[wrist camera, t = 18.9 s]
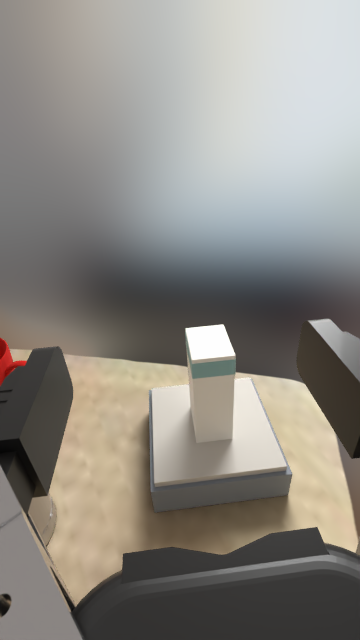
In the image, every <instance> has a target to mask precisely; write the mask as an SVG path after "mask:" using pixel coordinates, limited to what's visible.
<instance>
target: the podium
mask: <svg viewBox="0 0 360 640" xmlns="http://www.w3.org/2000/svg"><path fill="white" fill-rule="evenodd" d="M149 423H150V483H151V497H152V502H153V507H154V512H155V513H156V512H163V511H171V510H178V509H186V508H194V507H201V506H209V505H216V504H224V503H232V502H239V501H247V500H255V499H262V498H270V497H277V496H285V495H288V493H289V488H290V483H291V478H292V472H291V470H290V467H289V465H288V463H287V460H286V458H285V456H284V453H283V451H282V448H281V446H280V444H279V441H278V439H277V437H276V434H275V432H274V430H273V427H272V425H271V423H270V420H269V418H268V415H267V413H266V411H265V408H264V406H263V404H262V401H261V399H260V397H259V394H258V392H257V390H256V387H255V385H254V382H253V380H252V379H250V377H248V378H239V379H235V381H234V409H233V438H232V439H226V440H218V441H210V442H201V443H196V437H195V431H194V425H193V419H192V413H191V406H190V390H189V384H186V385H177V386H168V387H159V388H152V390H149Z"/></svg>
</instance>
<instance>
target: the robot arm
mask: <svg viewBox="0 0 360 640" xmlns="http://www.w3.org/2000/svg"><path fill="white" fill-rule="evenodd" d="M297 368H298V372H299V374H300V376H301V378H302V380H303V381H304V383H305V384H306V386H307V388H308V389H309V391H310V392H311V394H312V396H313V397H314V399H315V401H316V402H317V404H318V405H319V407H320V409H321V410H322V412H323V413H324V415H325V417H326V418H327V420H328V421H329V423H330V425H331V426H332V428H333V429H334V431H335V433H336V434H337V436H338V437H339V439H340V441H341V442H342V444H343V446H344V447H345V449H346V450H347V452H348V454H349V455H350V457H351V458H352V459H353V458H360V339H359V338H357V337H355V336H353V335H351V334H349V333H348V332H342V331H341V330H340V329H339V328H338V327H337V326H336V325H335V324H334V323H333V322H332V321H331V320H330V319H321V320H311V321H305V322H304V323H303V325H302V328H301V334H300V340H299V347H298V353H297ZM72 400H73V386H72V381H71V378H70V375H69V372H68V368H67V365H66V362H65V359H64V356H63V353H62V350H61V349H60V347H48V348H38V349H33V351H32V352H31V354H30V356H29V358H28V360H27V362H26V364H25V366H18V367H17V368H15V369H14V370H13V371H12V372H11V373H10V374H9V375H8V376H7V377H6V378H5V379H4V381H3V383H2V384H1V386H0V640H360V539H359V543H358V546H357V550H356V553H354V552H351V551H349V550H347V549H344V548H342V547H338V546H335V545H331V544H327V543H324V542H323V539H322V537H321V535H320V532H319V530H318V528H317V527H315V528H307V529H300V530H293V531H285V532H278V533H271V534H269V535H266V536H264V537H262V538H260V539H258V540H256V541H254V542H252V543H250V544H248V545H245V546H243V547H241V548H239V549H237V550H235V551H233V552H231V553H228V554H225V555H218V554H212V553H206V552H200V551H193V550H187V549H181V548H175V547H168V548H161V549H154V550H147V551H139V552H132V553H125V554H123V567H122V570H121V571H119V572H117V573H115V574H113V575H112V576H110V577H108V578H107V579H105V580H104V581H102V582H101V583H100V584H98V585H97V586H96V587H95V588H94V589H92V590H91V591H90V592H89V593H88V594H87V595H86V596H85V597H84V598H83V599H82V600H81V601H80V602H79V603H78V605H77V606H76V604H75V602H74V600H73V598H72V596H71V594H70V592H69V591H68V589H67V587H66V585H65V583H64V581H63V579H62V578H61V576H60V574H59V572H58V570H57V568H56V566H55V564H54V562H53V560H52V558H51V556H50V554H49V552H48V550H47V548H46V545H47V544H48V542H49V540H50V538H51V536H52V534H53V531H54V528H55V525H56V518H57V514H56V507H55V505H54V502H53V500H52V497H51V496H50V494H49V489H50V485H51V481H52V477H53V473H54V469H55V466H56V462H57V458H58V454H59V450H60V447H61V443H62V439H63V435H64V431H65V427H66V424H67V420H68V416H69V412H70V408H71V405H72Z"/></svg>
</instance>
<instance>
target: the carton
mask: <svg viewBox="0 0 360 640" xmlns="http://www.w3.org/2000/svg"><path fill="white" fill-rule="evenodd" d="M185 335H186V347H187V358H188V375H189V390H190V406H191V413H192V419H193V425H194V431H195V437H196V443H201V442H210V441H218V440H226V439H232V438H233V409H234V381H235V369H236V368H235V367H236V359H235V353H234V351H233V348H232V346H231V343H230V340H229V338H228V336H227V333H226V330H225V328H224V325H215V326H205V327H195V328H186V332H185Z"/></svg>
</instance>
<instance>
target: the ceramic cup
mask: <svg viewBox="0 0 360 640" xmlns="http://www.w3.org/2000/svg"><path fill="white" fill-rule="evenodd" d="M26 362H27V361H16V362H13V360H12V356H11V353H10V350H9V347H8V345H7V343H6V342H5V341H4V340H3V339H1V338H0V386H1V384H2V383H3V381H4V379H5V378H6V377H7V376H8V375H9V374H10V373H11V372H12V371H13V370H14V368H17V367H18V366H25V364H26Z"/></svg>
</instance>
